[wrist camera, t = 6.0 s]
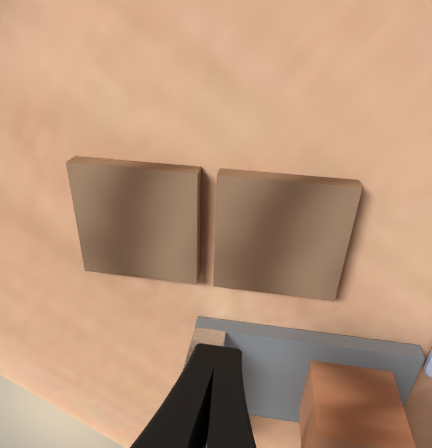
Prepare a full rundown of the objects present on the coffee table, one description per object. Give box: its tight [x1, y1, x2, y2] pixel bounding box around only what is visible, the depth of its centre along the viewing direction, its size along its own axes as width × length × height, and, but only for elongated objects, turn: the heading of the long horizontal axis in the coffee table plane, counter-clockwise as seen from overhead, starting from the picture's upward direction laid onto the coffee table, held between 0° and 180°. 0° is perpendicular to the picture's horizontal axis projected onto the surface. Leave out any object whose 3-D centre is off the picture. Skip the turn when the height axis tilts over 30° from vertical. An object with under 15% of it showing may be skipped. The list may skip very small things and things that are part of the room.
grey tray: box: [183, 316, 425, 447], centre depth 24 cm, size 14×8×4 cm, turn 88°
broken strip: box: [66, 156, 362, 301], centre depth 21 cm, size 15×7×1 cm, turn 88°
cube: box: [299, 360, 416, 448], centre depth 23 cm, size 5×5×5 cm
